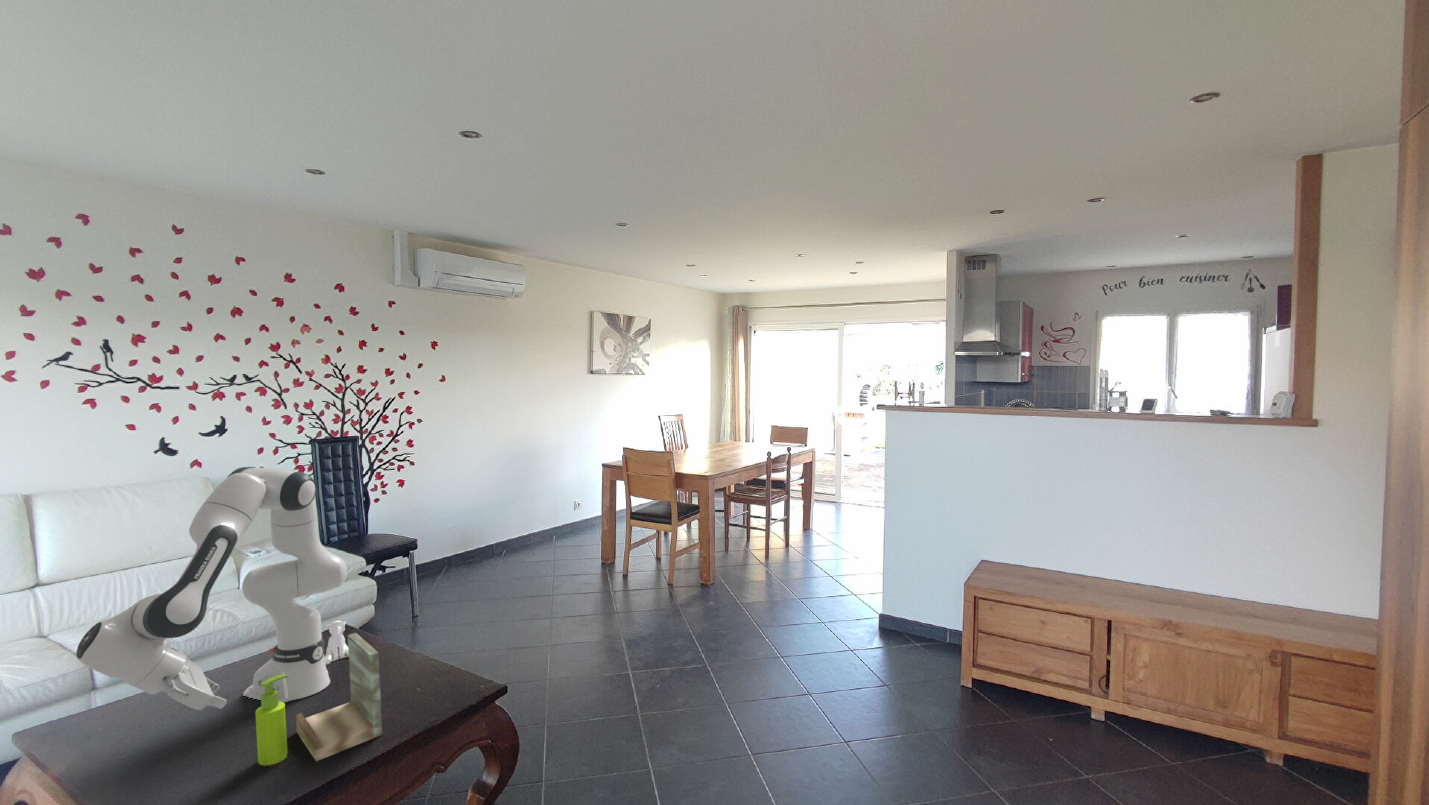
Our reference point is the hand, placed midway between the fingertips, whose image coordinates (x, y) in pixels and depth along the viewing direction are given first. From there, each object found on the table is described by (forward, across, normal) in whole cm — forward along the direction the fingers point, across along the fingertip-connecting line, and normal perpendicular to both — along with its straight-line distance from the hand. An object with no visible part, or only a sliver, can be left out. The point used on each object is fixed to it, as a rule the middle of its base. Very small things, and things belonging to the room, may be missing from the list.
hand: (220, 697), depth 145 cm
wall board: (+30, 0, -3) cm, 31 cm away
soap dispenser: (+21, 0, +7) cm, 22 cm away
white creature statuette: (+40, +50, -12) cm, 65 cm away
